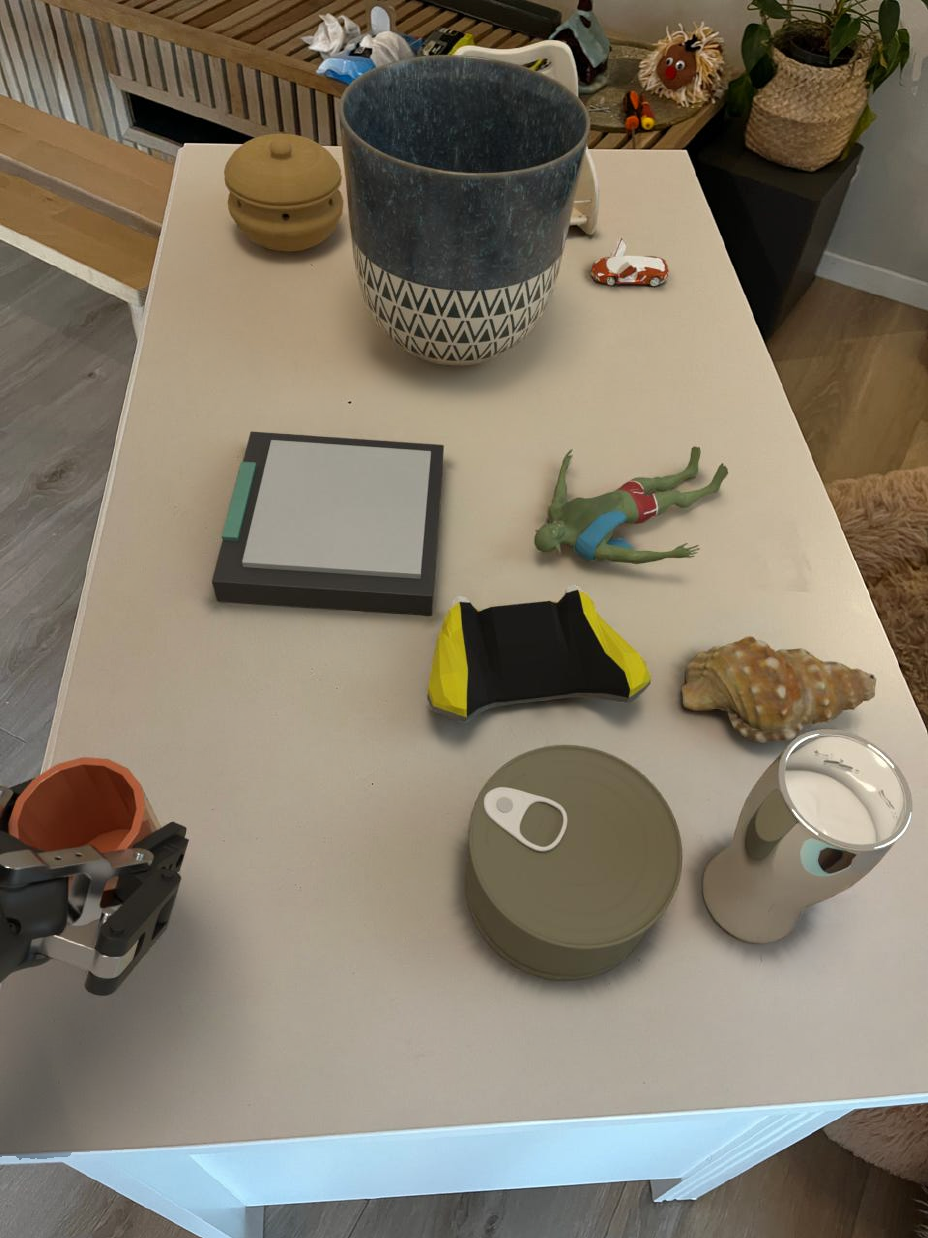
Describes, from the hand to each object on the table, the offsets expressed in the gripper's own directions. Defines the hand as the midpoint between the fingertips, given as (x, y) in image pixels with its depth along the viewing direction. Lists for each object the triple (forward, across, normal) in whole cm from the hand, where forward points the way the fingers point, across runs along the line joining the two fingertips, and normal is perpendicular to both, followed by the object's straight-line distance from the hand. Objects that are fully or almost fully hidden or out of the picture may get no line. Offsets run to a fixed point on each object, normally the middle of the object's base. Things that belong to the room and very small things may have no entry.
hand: (118, 816), depth 45 cm
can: (+16, -21, +1) cm, 27 cm away
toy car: (+62, -7, -45) cm, 77 cm away
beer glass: (+19, -33, -2) cm, 38 cm away
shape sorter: (+64, +9, -47) cm, 80 cm away
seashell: (+29, -31, -12) cm, 44 cm away
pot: (+55, +28, -38) cm, 73 cm away
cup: (+2, 0, +4) cm, 5 cm away
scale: (+30, +4, -13) cm, 33 cm away
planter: (+49, +5, -32) cm, 58 cm away
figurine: (+38, -16, -21) cm, 46 cm away
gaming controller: (+25, -14, -8) cm, 30 cm away
